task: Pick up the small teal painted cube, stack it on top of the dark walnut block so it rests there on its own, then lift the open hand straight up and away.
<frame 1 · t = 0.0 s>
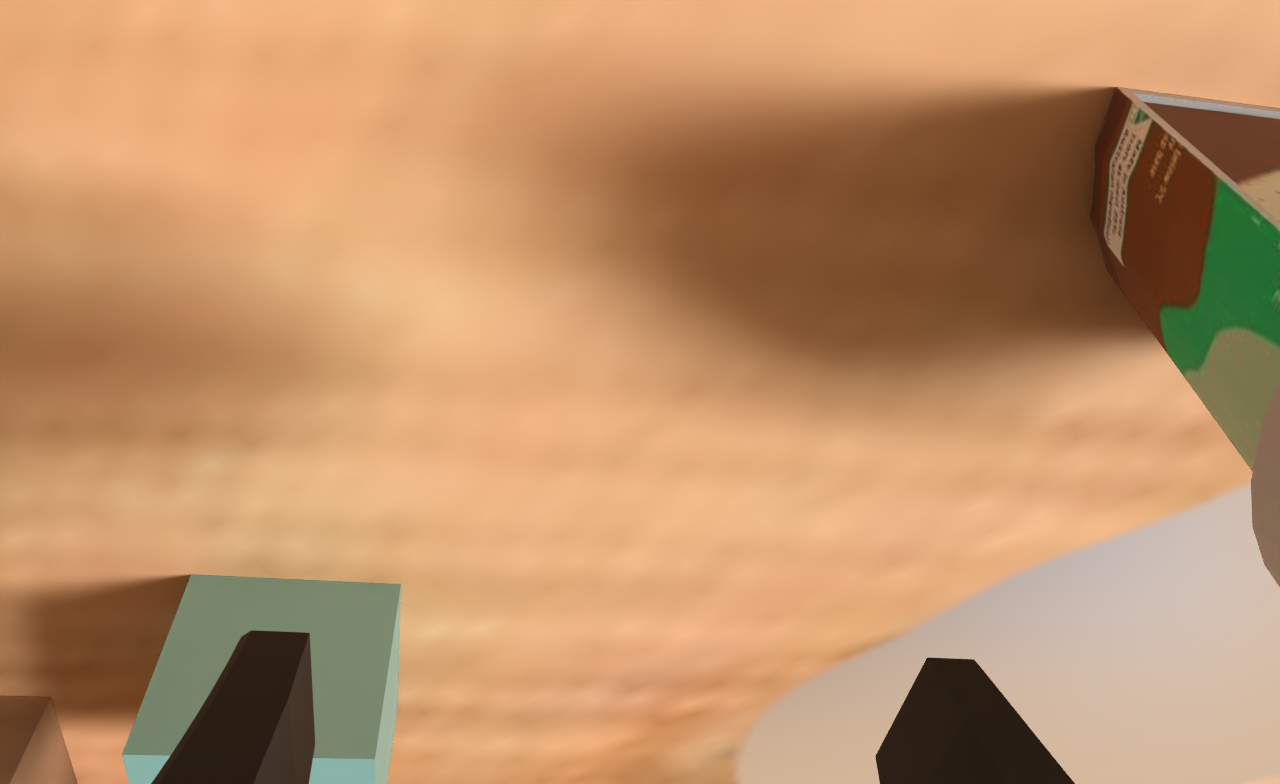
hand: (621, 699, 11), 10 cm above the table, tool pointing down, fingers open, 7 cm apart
food container: (1247, 250, 21), on the table
teal cube: (302, 642, 26), on the table
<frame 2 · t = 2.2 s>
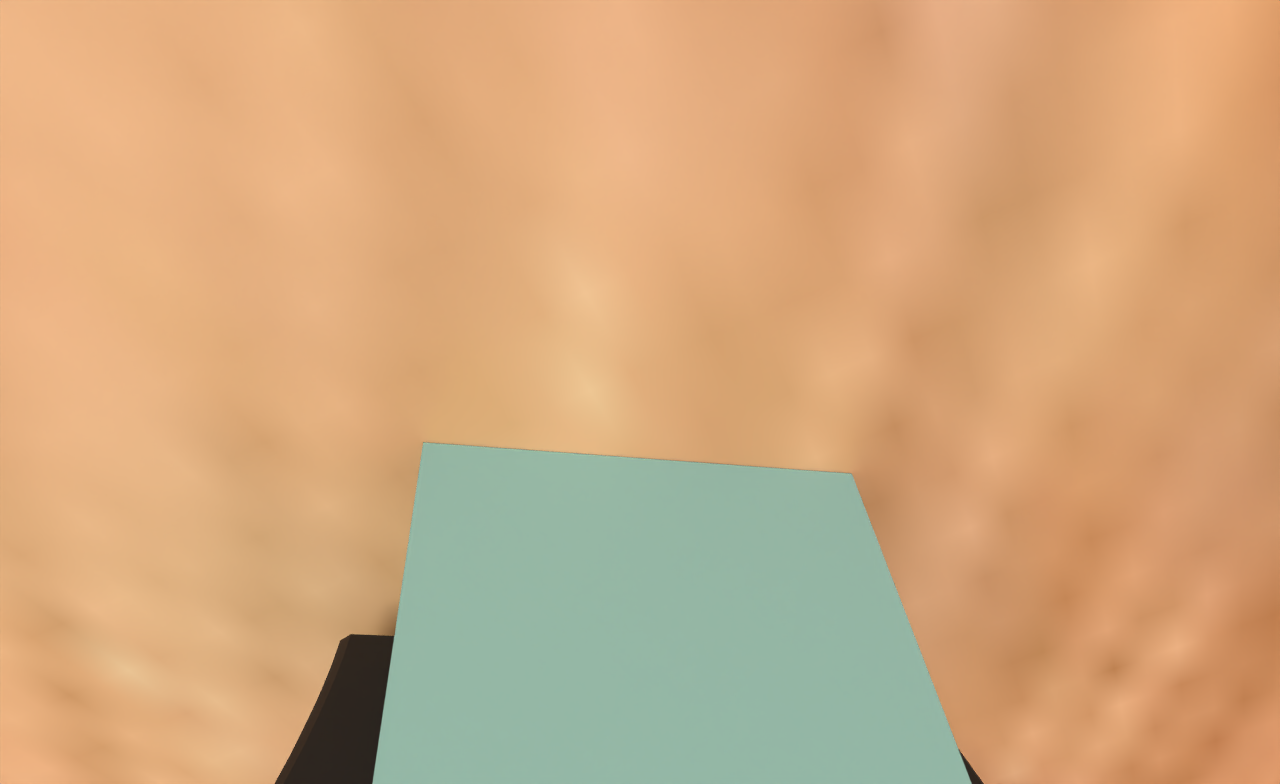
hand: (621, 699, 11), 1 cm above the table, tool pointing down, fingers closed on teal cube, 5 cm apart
teal cube: (613, 604, 13), on the table, touching gripper
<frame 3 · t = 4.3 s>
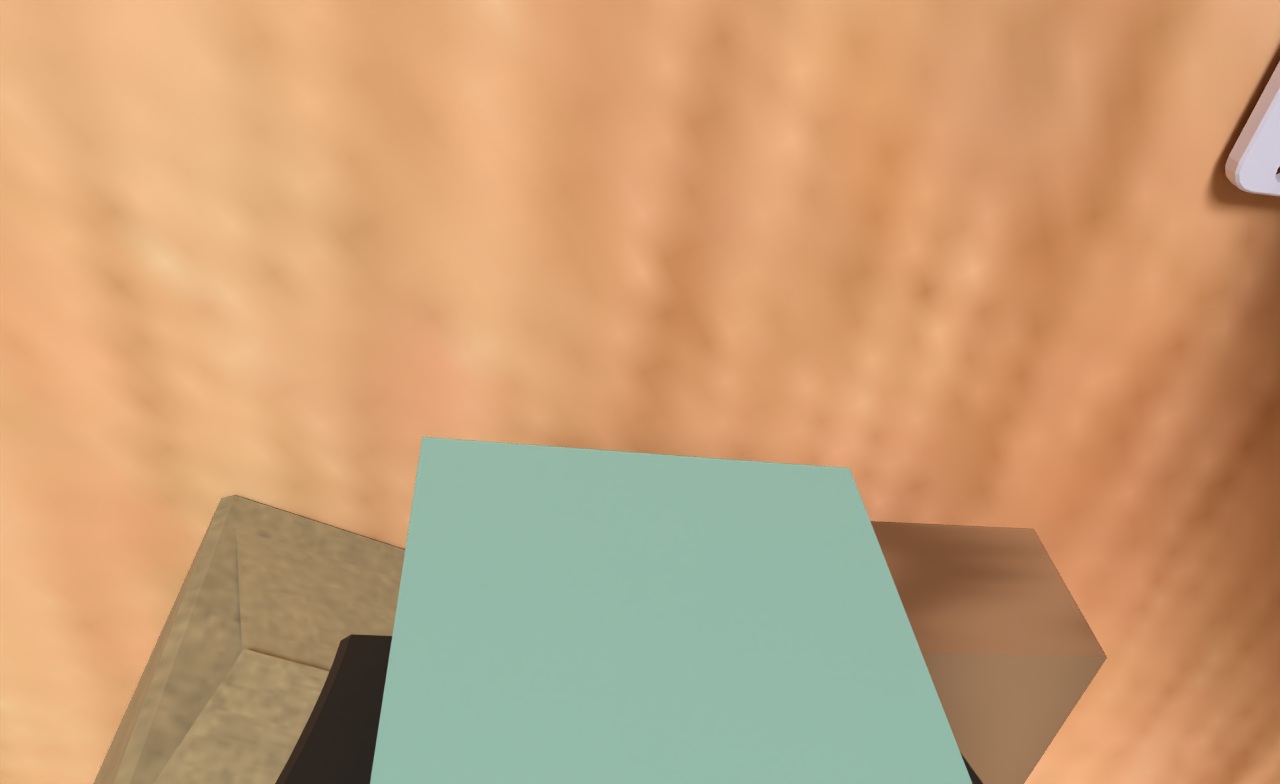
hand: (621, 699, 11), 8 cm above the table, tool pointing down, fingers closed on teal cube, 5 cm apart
walnut block: (799, 638, 25), on the table
teal cube: (611, 599, 13), point 7 cm above the table, touching gripper
tissue box: (310, 763, 26), on the table
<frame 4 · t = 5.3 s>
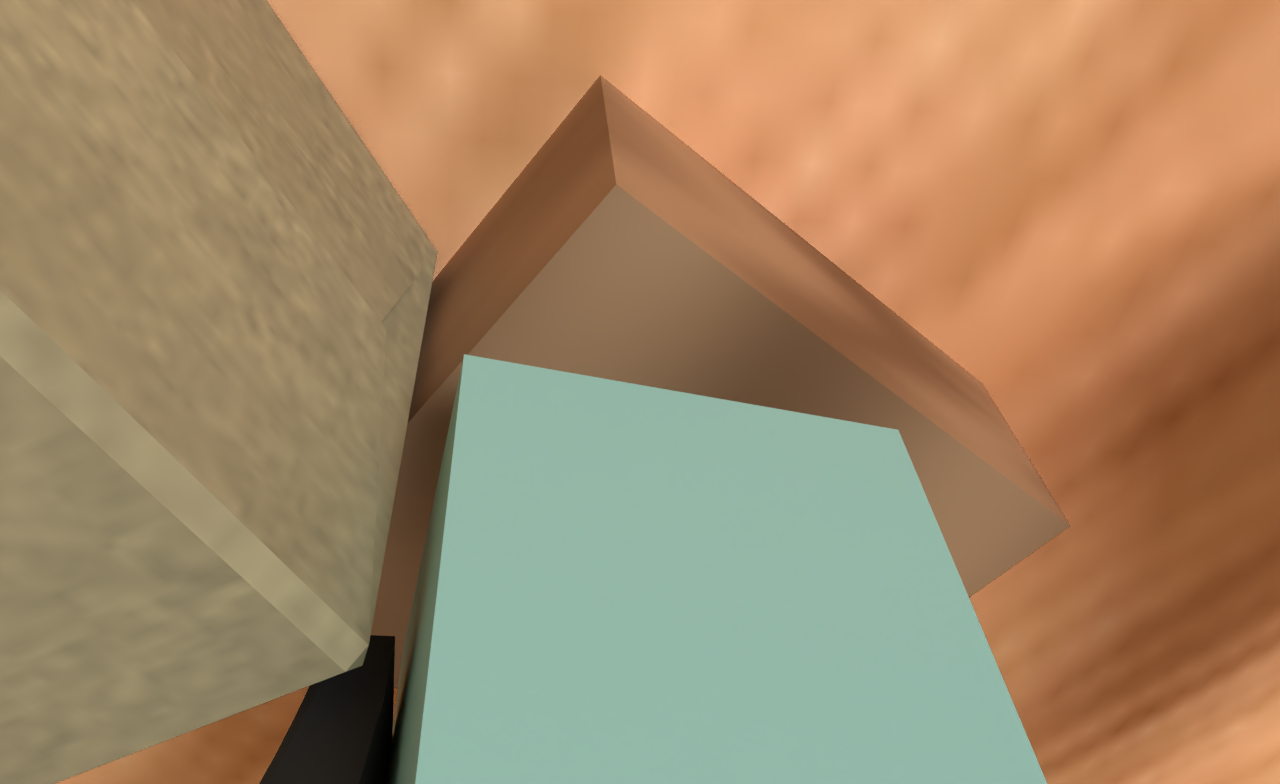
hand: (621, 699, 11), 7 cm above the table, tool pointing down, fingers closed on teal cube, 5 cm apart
walnut block: (635, 412, 18), on the table
teal cube: (632, 545, 12), point 5 cm above the table, touching gripper
when the fingers open (6 cm above the table, at t = 6.3 s): teal cube drops 1 cm, resting on walnut block.
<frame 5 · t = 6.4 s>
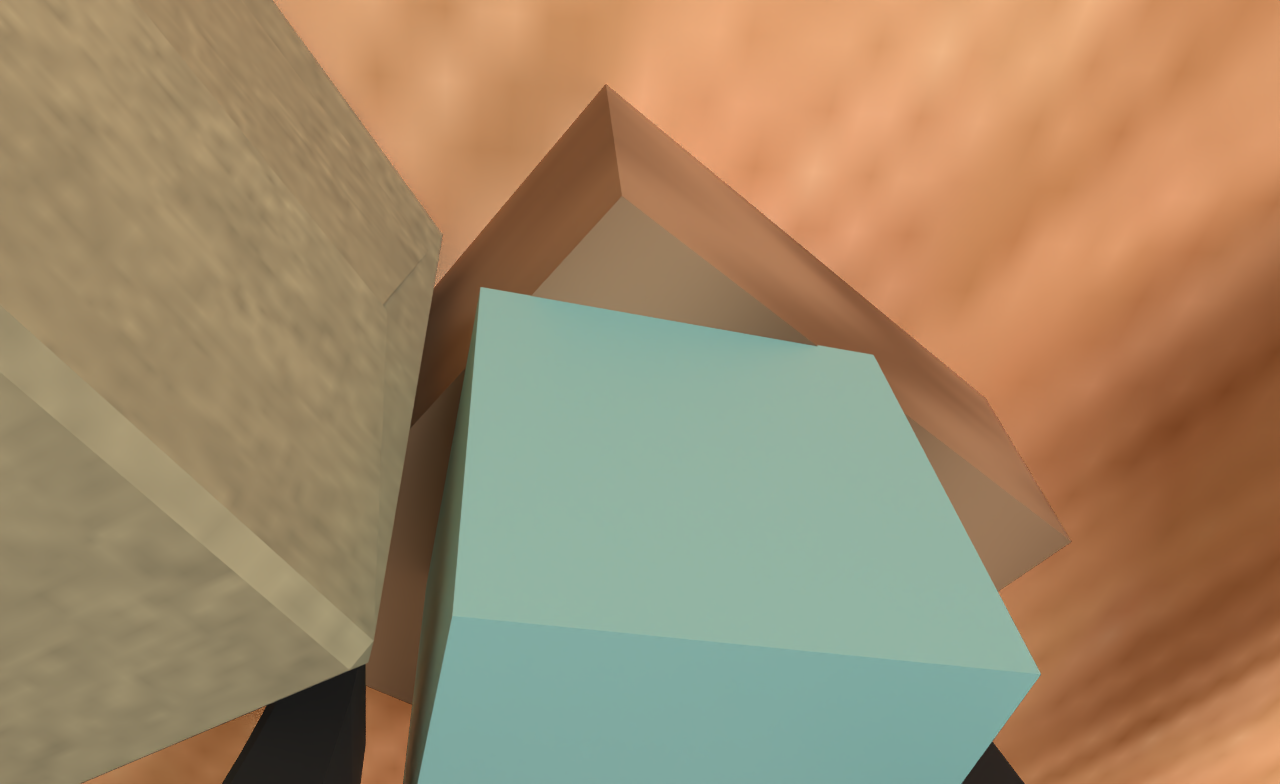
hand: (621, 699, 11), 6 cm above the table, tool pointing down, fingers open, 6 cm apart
walnut block: (634, 419, 18), on the table, touching teal cube
teal cube: (635, 477, 13), point 4 cm above the table, touching walnut block
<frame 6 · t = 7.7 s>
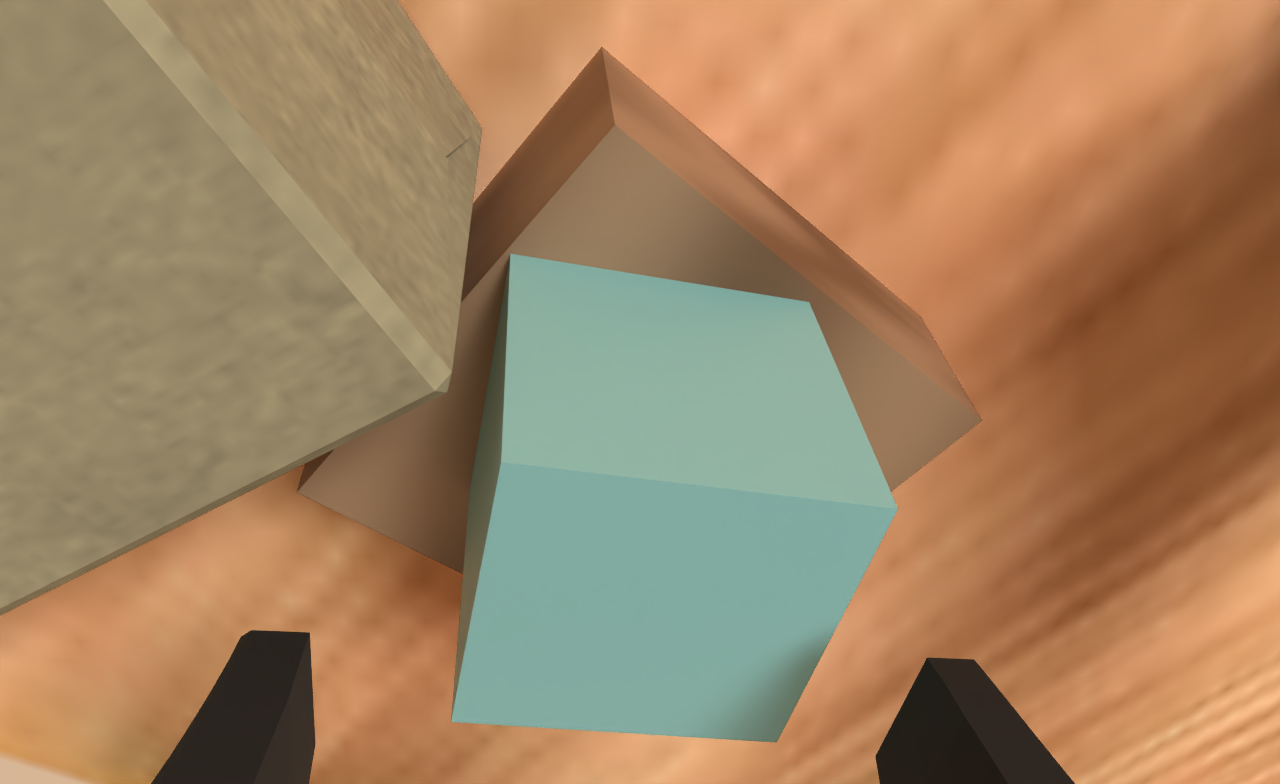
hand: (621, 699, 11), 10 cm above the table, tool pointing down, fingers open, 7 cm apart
walnut block: (626, 336, 21), on the table, touching teal cube
teal cube: (630, 400, 17), point 4 cm above the table, touching walnut block
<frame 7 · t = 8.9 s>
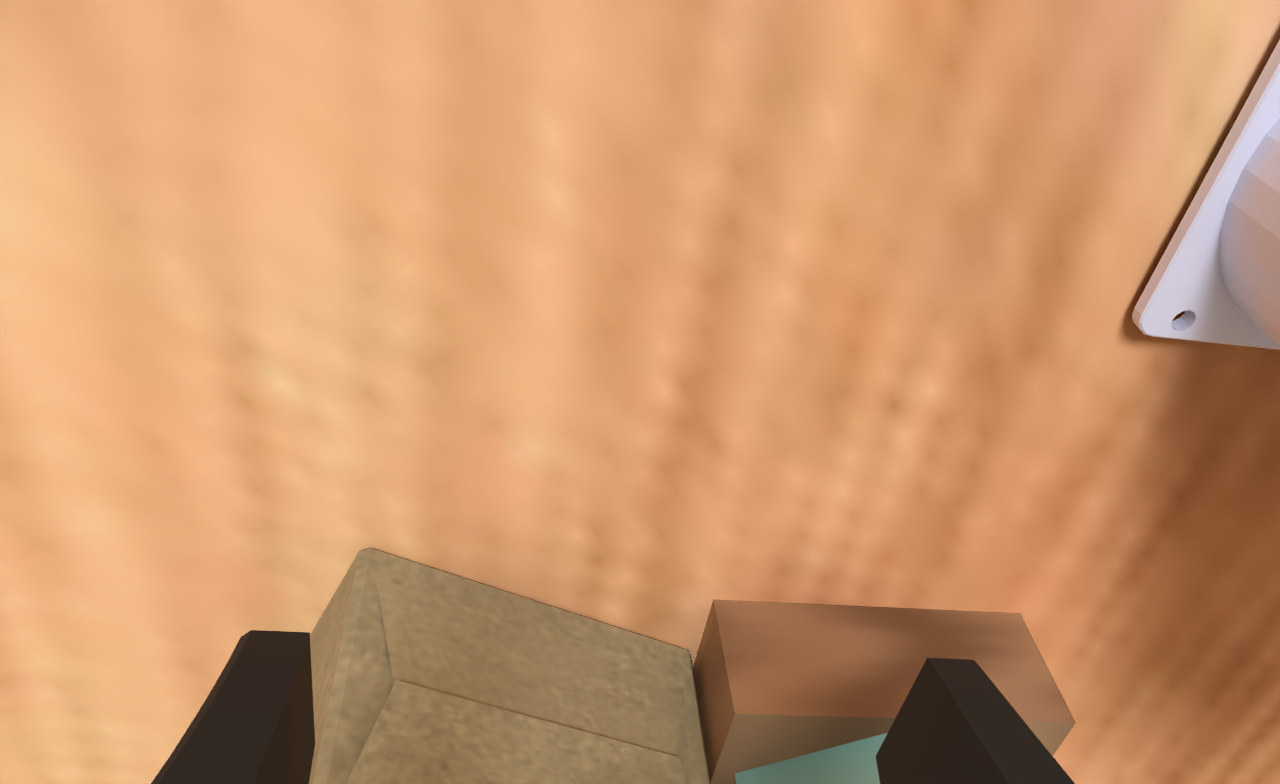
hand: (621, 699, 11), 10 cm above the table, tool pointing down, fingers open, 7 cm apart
walnut block: (824, 694, 30), on the table, touching teal cube
tissue box: (406, 769, 30), on the table
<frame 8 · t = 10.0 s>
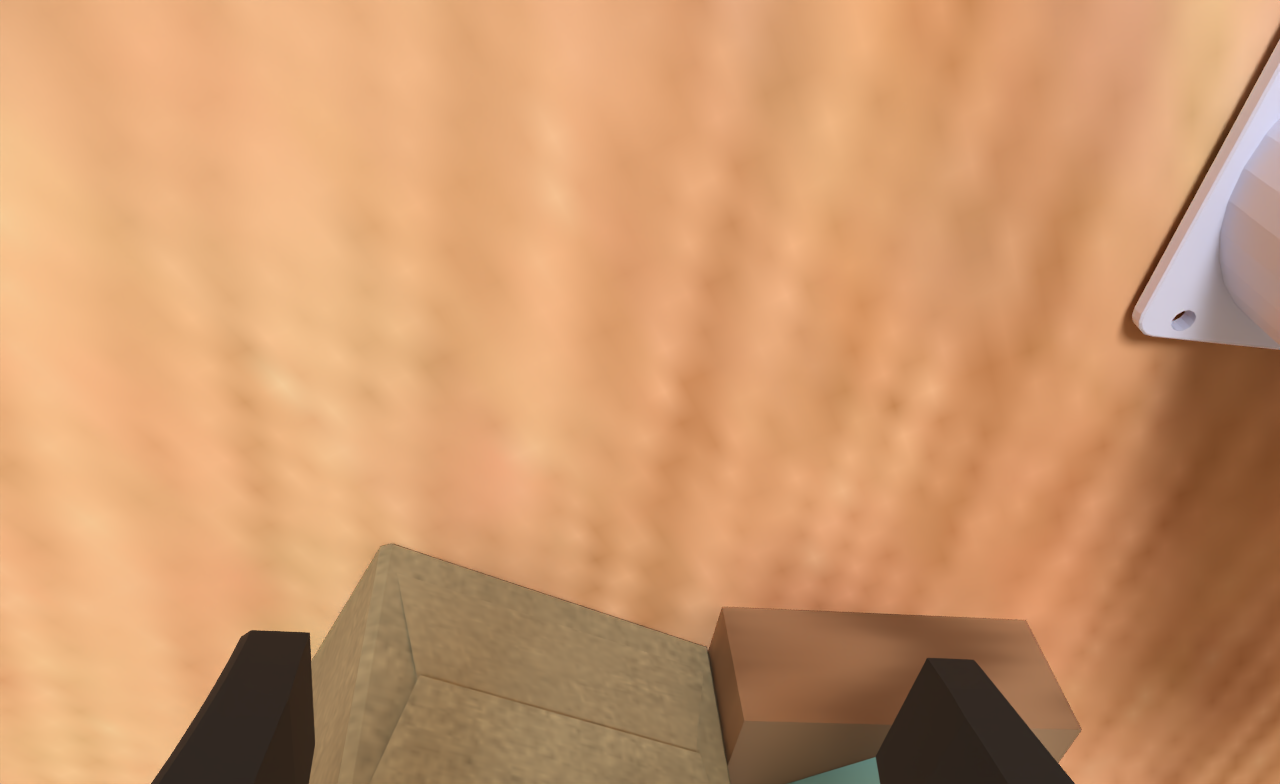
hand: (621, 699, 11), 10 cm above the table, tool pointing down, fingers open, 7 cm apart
walnut block: (830, 700, 30), on the table, touching teal cube
tissue box: (421, 767, 30), on the table
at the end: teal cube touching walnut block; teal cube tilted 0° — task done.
